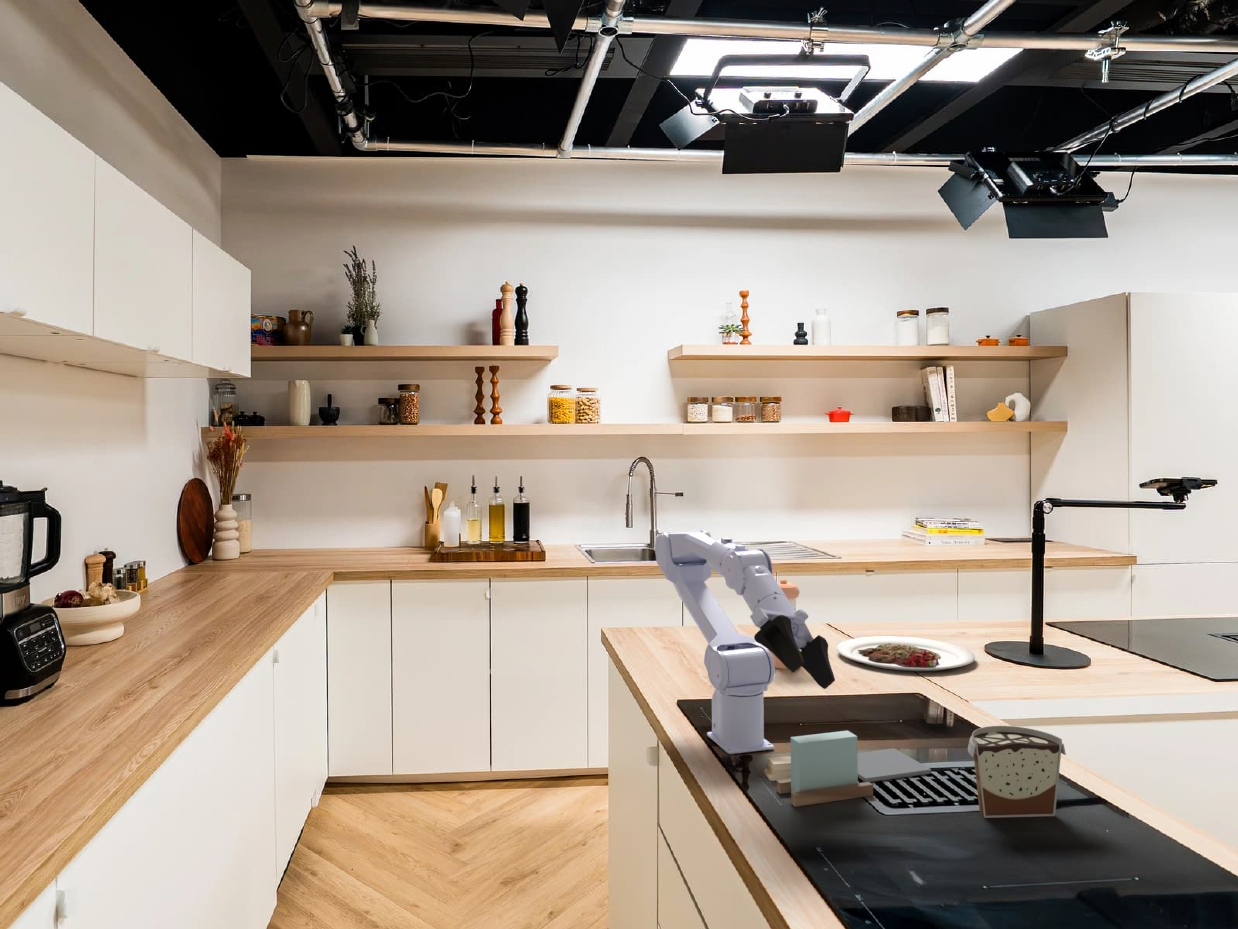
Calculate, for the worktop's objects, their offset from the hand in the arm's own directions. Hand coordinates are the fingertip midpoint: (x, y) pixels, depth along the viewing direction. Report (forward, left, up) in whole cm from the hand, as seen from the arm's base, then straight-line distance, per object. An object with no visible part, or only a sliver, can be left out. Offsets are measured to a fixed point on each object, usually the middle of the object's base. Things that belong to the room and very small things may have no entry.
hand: (813, 676), depth 112 cm
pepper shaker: (-64, +29, -17) cm, 73 cm away
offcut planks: (-8, +2, -17) cm, 19 cm away
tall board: (0, +2, -17) cm, 17 cm away
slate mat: (-6, +15, -17) cm, 23 cm away
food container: (+11, +23, -17) cm, 30 cm away
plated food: (-61, +58, -17) cm, 86 cm away
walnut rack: (0, +2, -17) cm, 17 cm away
